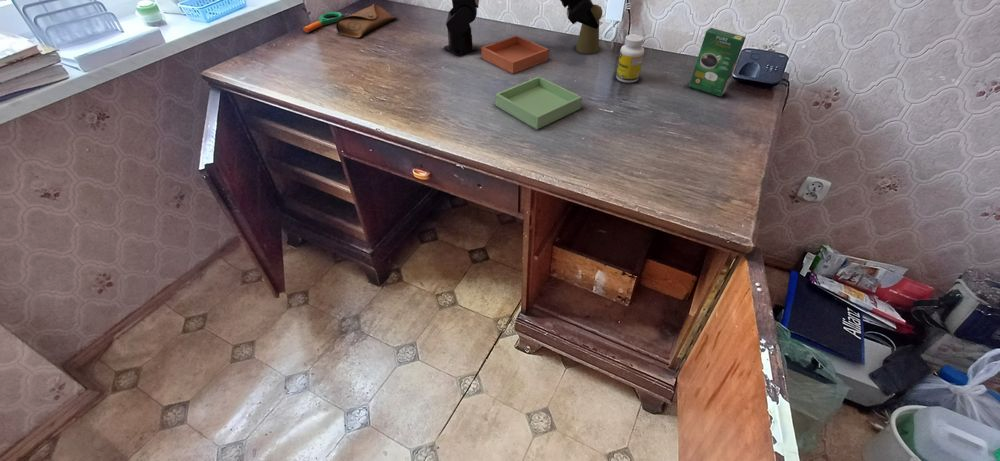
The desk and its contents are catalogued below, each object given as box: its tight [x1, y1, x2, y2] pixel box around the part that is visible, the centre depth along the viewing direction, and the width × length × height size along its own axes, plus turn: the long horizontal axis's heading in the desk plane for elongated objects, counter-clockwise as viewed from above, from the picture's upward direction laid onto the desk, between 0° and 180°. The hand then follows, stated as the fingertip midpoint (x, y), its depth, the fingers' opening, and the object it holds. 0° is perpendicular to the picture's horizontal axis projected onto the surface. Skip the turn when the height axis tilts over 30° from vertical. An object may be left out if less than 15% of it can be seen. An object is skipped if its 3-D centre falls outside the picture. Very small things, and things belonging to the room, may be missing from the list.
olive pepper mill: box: [575, 3, 603, 55], centre depth 121 cm, size 6×6×11 cm
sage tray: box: [495, 76, 583, 130], centre depth 101 cm, size 13×13×3 cm
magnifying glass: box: [302, 11, 344, 33], centre depth 138 cm, size 15×6×2 cm, turn 158°
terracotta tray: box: [480, 35, 550, 74], centre depth 120 cm, size 12×12×3 cm
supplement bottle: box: [615, 33, 645, 84], centre depth 109 cm, size 5×5×10 cm
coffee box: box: [688, 27, 747, 98], centre depth 103 cm, size 8×3×13 cm, turn 50°
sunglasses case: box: [335, 2, 397, 39], centre depth 137 cm, size 18×7×7 cm, turn 153°
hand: (595, 23), depth 121 cm, fingers closed on olive pepper mill, 5 cm apart
